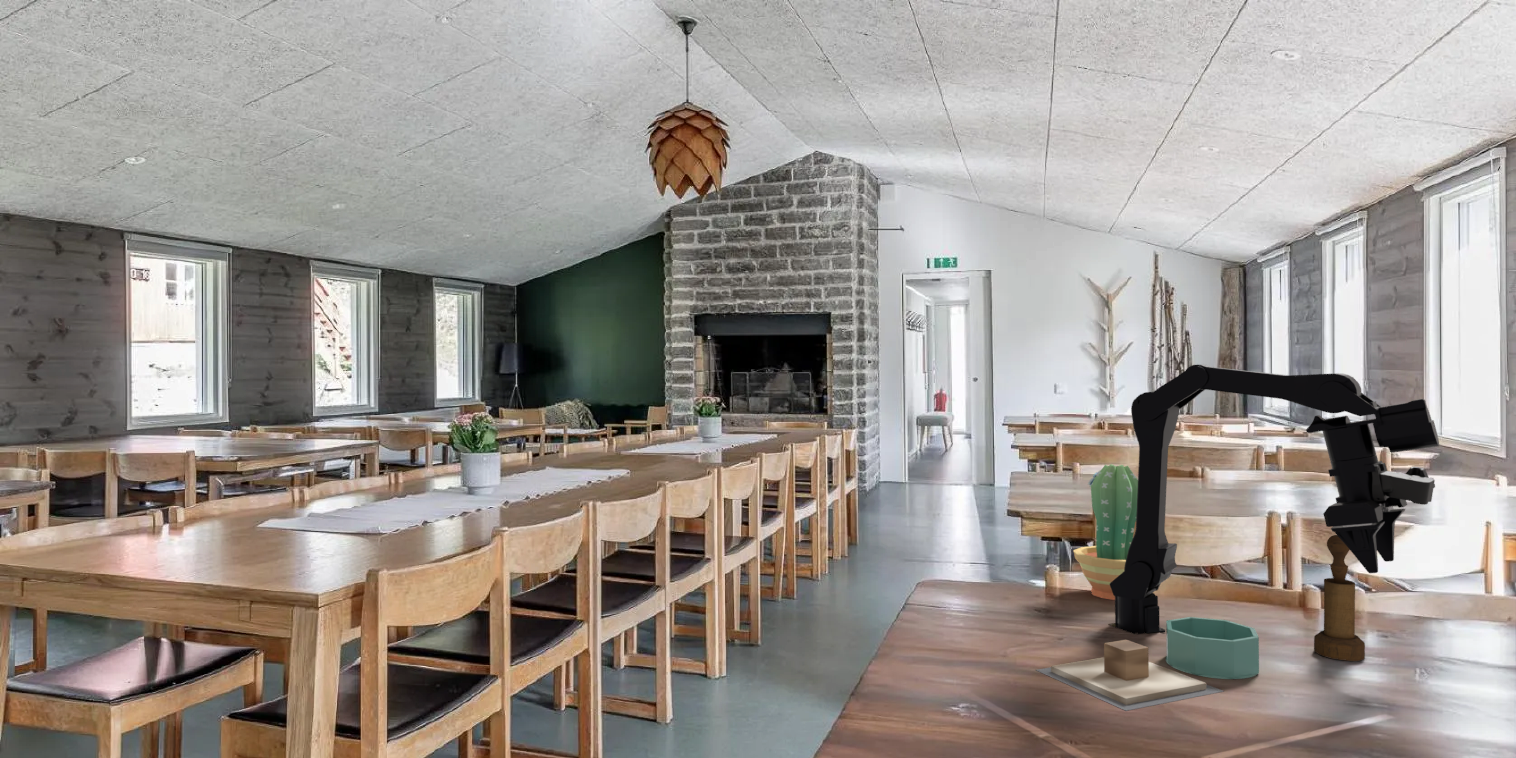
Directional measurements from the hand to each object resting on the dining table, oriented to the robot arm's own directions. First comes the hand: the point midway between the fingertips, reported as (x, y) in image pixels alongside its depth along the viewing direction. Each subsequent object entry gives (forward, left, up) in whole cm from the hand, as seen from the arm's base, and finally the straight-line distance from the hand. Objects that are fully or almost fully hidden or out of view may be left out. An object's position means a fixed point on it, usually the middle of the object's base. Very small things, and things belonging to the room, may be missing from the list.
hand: (1381, 566), depth 128 cm
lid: (-11, -37, -14) cm, 41 cm away
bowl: (-11, -21, -15) cm, 28 cm away
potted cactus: (-50, -1, -15) cm, 52 cm away
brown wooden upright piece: (-8, +2, -15) cm, 17 cm away
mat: (-11, -37, -15) cm, 41 cm away
